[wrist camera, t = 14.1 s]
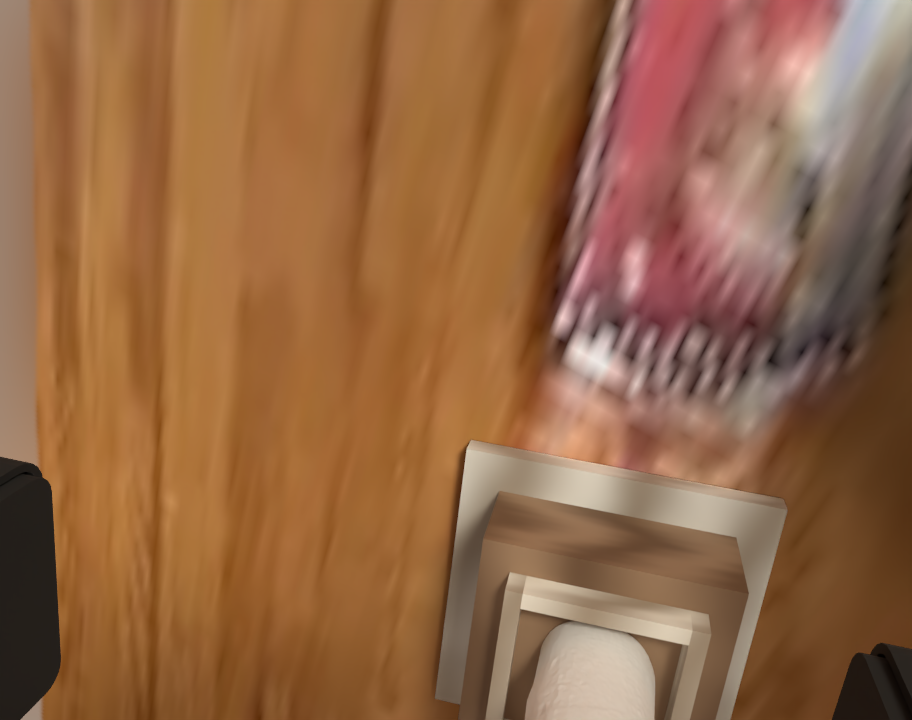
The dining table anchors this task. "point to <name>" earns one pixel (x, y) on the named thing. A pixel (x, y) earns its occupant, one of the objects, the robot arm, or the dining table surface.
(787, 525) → the dining table surface
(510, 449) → the tower base
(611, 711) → the roll
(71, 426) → the dining table surface
